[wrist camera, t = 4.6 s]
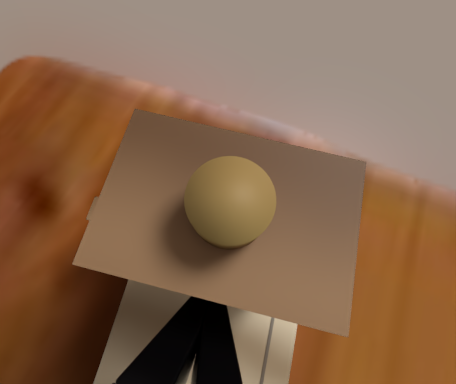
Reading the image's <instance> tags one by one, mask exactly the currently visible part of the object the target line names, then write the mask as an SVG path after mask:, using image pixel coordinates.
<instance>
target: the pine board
mask: <svg viewBox="0 0 456 384" xmlns="http://www.w3.org/2000/svg"><path fill="white" fill-rule="evenodd" d="M190 297H191V296H190V295H186V294H182V293H178V292H174V291H171V290H167V289H163V288H159V287H156V286H152V285H148V284H144V283H140V282H137V281H133V280H128V283H127V286H126V288H125V291H124V294H123V297H122V300H121V303H120V306H119V309H118V312H117V315H116V318H115V321H114V324H113V327H112V330H111V333H110V336H109V339H108V342H107V345H106V348H105V351H104V354H103V356H102V359H101V362H100V365H99V368H98V371H97V374H96V377H95V380H94V383H93V384H112V383H116V379H117V378H118V377H119V376H120V375H121V373H122V372H123V371H124V370H125V369H126V368H127V367H128V366H129V365H130V363H131V362H132V361H133V360H134V359H135V358H136V357H137V356H138V355H139V353H140V352H141V351H142V350H143V349H144V348H145V347H146V346H147V344H148V343H149V342H150V341H151V340H152V339H153V338H154V337H155V336H156V334H157V333H158V332H159V331H160V330H161V329H162V328H163V327H164V326H165V324H166V323H167V322H168V321H169V320H170V319H171V318H172V317H173V315H174V314H175V313H176V312H177V311H178V310H179V309H180V308H181V307H182V305H183V304H184V303H185V302H186V301H187V300H188V299H189V298H190ZM227 308H228V313H229V318H230V323H231V328H232V333H233V338H234V343H235V348H236V353H237V358H238V363H239V367H240V372H241V377H242V382H243V384H288V382H289V376H290V369H291V363H292V356H293V350H294V343H295V337H296V330H297V324H296V323H292V322H288V321H284V320H280V319H277V318H273V317H269V316H265V315H261V314H258V313H254V312H250V311H246V310H243V309H239V308H235V307H231V306H227ZM194 361H195V359H194ZM193 366H194V363H193ZM193 366H192V369H191V371H190V374H189V377H188V380H187V382H186V384H191V378H192V371H193Z"/></svg>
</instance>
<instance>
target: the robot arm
mask: <svg viewBox="0 0 456 384" xmlns="http://www.w3.org/2000/svg"><path fill="white" fill-rule="evenodd" d="M194 359H195V361H194ZM193 363H194V366H193ZM192 366H193V371H192V378H191V384H243V382H242V377H241V372H240V367H239V363H238V358H237V353H236V348H235V343H234V338H233V333H232V328H231V323H230V318H229V313H228V308H227V305H224V304H220V303H216V302H212V301H208V300H205V299H201V298H197V297H193V296H191V297H190V298H189V299H188V300H187V301H186V302H185V303H184V304H183V305H182V307H181V308H180V309H179V310H178V311H177V312H176V313H175V314H174V315H173V317H172V318H171V319H170V320H169V321H168V322H167V323H166V324H165V326H164V327H163V328H162V329H161V330H160V331H159V332H158V333H157V334H156V336H155V337H154V338H153V339H152V340H151V341H150V342H149V343H148V344H147V346H146V347H145V348H144V349H143V350H142V351H141V352H140V353H139V355H138V356H137V357H136V358H135V359H134V360H133V361H132V362H131V363H130V365H129V366H128V367H127V368H126V369H125V370H124V371H123V372H122V373H121V375H120V376H119V377H118V378H117V379H116V383H112V384H186V382H187V380H188V377H189V374H190V371H191V369H192Z"/></svg>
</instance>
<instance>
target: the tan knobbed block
mask: <svg viewBox="0 0 456 384" xmlns="http://www.w3.org/2000/svg"><path fill="white" fill-rule="evenodd" d="M365 169H366V162H364V161H360V160H356V159H351V158H347V157H342V156H338V155H334V154H329V153H325V152H321V151H316V150H312V149H308V148H303V147H299V146H295V145H290V144H286V143H282V142H277V141H273V140H269V139H264V138H260V137H256V136H251V135H247V134H243V133H238V132H234V131H230V130H225V129H221V128H217V127H212V126H208V125H204V124H199V123H195V122H191V121H186V120H182V119H178V118H173V117H169V116H165V115H160V114H156V113H152V112H147V111H143V110H138V109H135V110H134V112H133V115H132V117H131V120H130V122H129V125H128V127H127V129H126V132H125V134H124V137H123V139H122V142H121V144H120V147H119V149H118V152H117V154H116V157H115V159H114V162H113V164H112V167H111V169H110V172H109V174H108V176H107V179H106V181H105V184H104V186H103V189H102V191H101V194H100V196H99V197H95V198H94V201H93V203H92V206H91V208H90V210H89V213H88V215H87V218H86V219H87V220H90V221H89V224H88V226H87V228H86V231H85V233H84V236H83V238H82V241H81V243H80V246H79V248H78V251H77V253H76V256H75V258H74V261H73V263H72V265H76V266H80V267H84V268H87V269H91V270H95V271H99V272H103V273H106V274H110V275H114V276H118V277H121V278H125V279H129V280H133V281H137V282H140V283H144V284H148V285H152V286H156V287H159V288H163V289H167V290H171V291H174V292H178V293H182V294H186V295H190V296H193V297H197V298H201V299H205V300H208V301H212V302H216V303H220V304H224V305H227V306H231V307H235V308H239V309H243V310H246V311H250V312H254V313H258V314H261V315H265V316H269V317H273V318H277V319H280V320H284V321H288V322H292V323H296V324H299V325H303V326H307V327H311V328H314V329H318V330H322V331H326V332H330V333H333V334H337V335H341V336H345V337H348V336H349V326H350V316H351V306H352V297H353V287H354V277H355V267H356V257H357V247H358V237H359V228H360V218H361V208H362V198H363V188H364V178H365Z"/></svg>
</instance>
